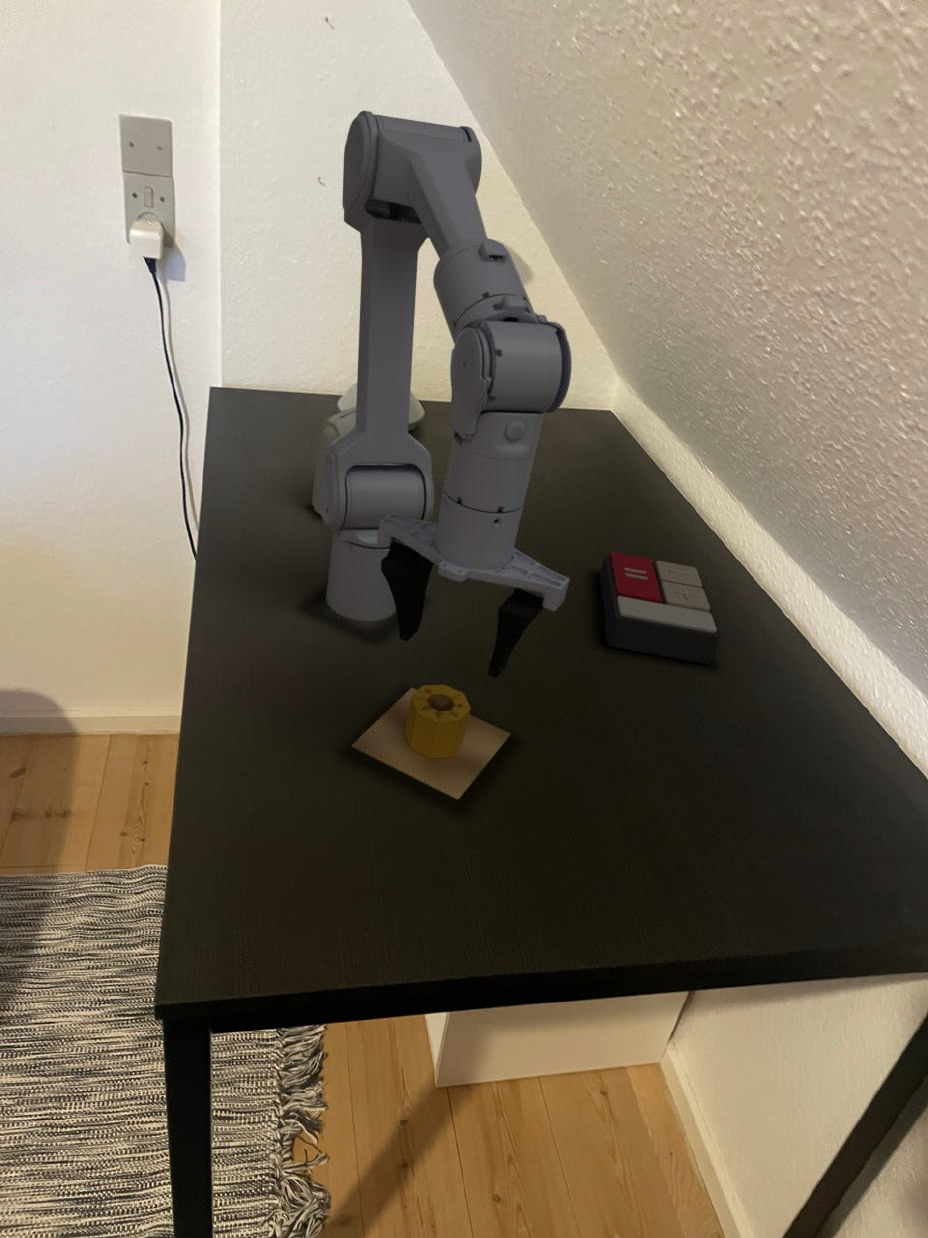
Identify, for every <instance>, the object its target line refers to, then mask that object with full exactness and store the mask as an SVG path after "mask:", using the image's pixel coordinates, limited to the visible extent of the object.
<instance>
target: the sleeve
mask: <svg viewBox="0 0 928 1238" xmlns="http://www.w3.org/2000/svg"><path fill="white" fill-rule="evenodd" d="M417 690H418V691H417V692H416V693H415V694H414V695H413V696H412V697H411V701H410V706H409V712H408V717H407V723H406V728H405V736H406V739H407V742H408V744H409V747H410V749H412V750H414V751H416V752H418V753H420V754H422V755H424V756H426V757H428V758H430V759H432V758H444V757H452V756H453V755H454V754H455V753H456V752H457V750H458V749H459V748H460V747H461V746H462V744H463V740H464V735H465V731H466V726H467V722H468V718H469V714H471V713H470V712H471V710H472V709H471V705H470V703H469V701H468V700H467V697H466V695H465V693H464V692H462V691H459V690H457V689H454V688H453V687H450V686H448V685H446V684H430V685H429V684H427V685H421V686H420V687H419V688H418V689H417ZM437 696H443V697H445V698H447V699H448V707H447V711H437V710H435V709H433V708H432V707H433V702H434V699H435V698H436V697H437Z"/></svg>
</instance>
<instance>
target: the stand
mask: <svg viewBox="0 0 928 1238" xmlns="http://www.w3.org/2000/svg"><path fill="white" fill-rule="evenodd" d="M418 690H419V689H416V688H414V687H410V688H409V690H407V692H405V693H404V694H403V695H402V696H401V697H400V698H399V699H398V700H397V701H396V702H394V704H393V705H391V707H390V708H389V709H387V710H386V711H385V713H383V714H382V716H380V717H379V718H378V719H377V720H376V721H375V722H374V723H373V724H372V725H371V726H370V727H369V728H368V729H367V730H366V731H365V732H363V733H362V734H361V736H360V737H358V738H357V739H356V740H355V741H354V742H353V743H351V745H350V747H351V748H353V749H356V750H358V751H359V752H361V753H364V755H365V754H366V755H368V756H369V757H372V758H373V759H375V760H377V761H379V762H381V763H384V764H386V765H388V766H389V767H392V768H394V769H396V770H398V771H400V772H401V773H403V774H406V775H407V776H409V777H412V778H414V779H415V780H417V781H419V782H421V783H424V784H425V785H427V786H429V787H431V788H433V789H436V790H437V791H439V792H441V793H444V794H446V795H448V796H449V797H452V798H454V799H455V800H460V798H461V797H462V796H463V795H464V794H465V792H466V791H467V790H468V788H469V787H470V786H471V785H472V783H473V782H474V781H475V780H476V779H477V777H478V776H479V774H480V773H481V772H482V771H483V770H484V769H485V768H486V766H487V765H488V763H489V762H490V761H491V760H492V758H493V757H494V756H495V755H496V753H497V752H498V751H499V749H501V747H502V746H503V744H504V743H505V742H506V741H507V740H508V738H509V737H510V736H511V732H508V731H506V730H504V729H502V728H499V727H498V726H496V725H493V724H491V723H489V722H487V721H485V720H483V719H480V718H478V717H476V716H474V715H472V714H471V713H469V718H468V722H467V726H466V731H465V735H464V740H463V744H462V746H461V747H460V748H459V749H458V750H457V752H456V753H455V754H454V755H453V756H452V757H444V758H432V759H430V758H428V757H426V756H424V755H422V754H420V753H418V752H416V751H414V750H412V749H410V747H409V744H408V742H407V739H406V736H405V728H406V723H407V717H408V712H409V706H410V701H411V697H412V696H413V695H414V694H415V693H416V692H417V691H418ZM447 707H448V699H447V698H445V697H443V696H437V697H436V698H435V699H434V702H433V707H432V708H433V709H435V710H437V711H447Z"/></svg>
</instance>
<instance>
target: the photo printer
mask: <svg viewBox="0 0 928 1238" xmlns="http://www.w3.org/2000/svg"><path fill="white" fill-rule="evenodd" d="M355 424H356V406H353V407H349V408H347V409H344V410H342V411H338V412H337V413H335V414H333V415H332V416H330V417H328V418H327V419H325V420H324V421H323V422H322V423H321V426H320V427H319V431H318V440H317V441H318V442H317V450H316V460H315V468H314V478H313V488H312V499H311V500H312V501H311V502H312V503H311V504H312V506H313V509H314V511H315V512H316V513H317V514H318V515H320V516H321V511H320V504H319V484H320V478H321V474H322V471H323V463H324V453H325V452H326V448H327V446H329V445H330V444H331V443H332V442H334V441H335V440H336V439H338V438H339V437H341V436H342V435H343V434H345V433H346V432H348V431H349V430H350V429H352V428H353V427H354V426H355ZM360 464H394V463H360Z"/></svg>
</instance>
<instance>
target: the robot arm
mask: <svg viewBox="0 0 928 1238" xmlns="http://www.w3.org/2000/svg"><path fill="white" fill-rule="evenodd" d="M482 157H483V155H482V147H481V144H480V141H479V139H478V137H477V135H476V132H475V130H474V129H473V128H471V127H470V126H464V125H459V126H453V125H445V124H442V123H441V124H439V123H434V122H427V121H422V120H421V121H420V120H415V119H407V118H400V117H394V116H388V115H383V114H375V113H373V112H372V111H369V110H361V111H359V113H358V114H357V115H356V117H355V118H354V119H353V120H352V121H351V123H350V126H349V129H348V132H347V135H346V140H345V145H344V149H343V173H342V174H343V175H342V200H341V201H342V202H341V204H342V210H343V222H344V223H345V224H346V225H348V226H350V227H351V228H352V229H353V230H355V231H357V233H359V236H360V237H359V238H360V249H361V250H360V251H361V269H360V270H361V273H360V295H359V297H360V299H359V322H358V323H359V324H358V326H359V327H358V349H357V350H358V353H357V355H358V356H357V376H356V377H357V379H356V402H355V403H356V405H355V407H356V424H355V426H354V427H353V428H352V429H350V430H349V431H348V432H346V433H345V434H343V435H342V436H341V437H339V438H338V439H336V440H335V441H334V442H332V443H331V444H330V445H329V446H327V448H326V452H325V453H324V463H323V471H322V474H321V478H320V484H319V504H320V511H321V515H320V516H321V520H322V521H323V523H324V524H325V526H326V527H327V528H328V529H329V531H331V532H332V542H331V550H330V558H329V559H330V560H329V568H328V577H327V587H326V594H325V600H326V604H327V606H328V607H329V608H330V609H331V610H332V611H333V612H335V613H336V614H338V615H340V616H342V617H343V618H345V619H346V618H347V619H350V620H353V621H358V622H359V621H360V622H377V621H381V620H385V619H387V618H390V617H391V616H393V615H394V614H395V613H396V617H397V623H398V631H399V632H398V633H399V639H400V640H401V641H405V642H409V640H410V639H411V638H412V637H414V635H415V634H417V632H419V630H420V627H421V623H422V619H423V614H424V607H425V601H426V600H425V599H426V593H427V588H428V584H429V581H430V577H431V575H432V574H431V573H432V570H433V567H434V565H437V571H436V572H437V574H438V575H439V576H441V577H443V578H446V579H448V580H451V581H454V582H457V583H462V582H464V581H467V579H469V580H474V581H479V582H485V583H490V584H494V585H497V586H499V587H501V588H505V589H507V590H509V591H512V593H511V595H510V596H508V597H507V598H506V599H505V601H503V603H502V604H501V605H500V606H499V607H498V611H497V616H498V617H497V629H496V639H495V644H494V648H493V652H492V655H491V658H490V662H489V665H488V671H487V674H488V676H489V677H492V678H495V679H497V678H499V676H500V675H501V673H502V672H503V671H504V670H505V668H506V667H507V665H508V662H509V660H510V657H511V655H512V653H513V651H514V649H515V648H516V645H517V643H518V642H519V640H520V639H521V637H522V636H523V634H524V633H525V631H526V630H527V628H528V627H529V626H530V624H532V622H533V621H534V620H536V618H537V617H538V615H539V614H540V613H541V612H542V610H543V609H546V610H549V611H551V612H556V611H557V610H558V609H559V608H560V607H561V605H562V604H563V602H564V601H565V599H566V594H567V590H568V587H569V583H570V578H569V577H567V576H565V575H562V574H560V573H558V572H556V571H554V570H552V569H550V568H549V567H546V566H545V565H543V564H542V563H540V562H539V561H537V560H535V559H534V558H532V557H530V556H528V555H526V554H525V553H523V552H522V551H520V550H518V549H517V548H515V544H516V539H517V535H518V531H519V528H520V522H521V518H522V514H523V511H524V505H525V500H526V496H527V493H528V487H529V483H530V478H531V475H532V474H531V473H532V470H533V465H534V461H535V456H536V452H537V448H538V443H539V439H540V435H541V430H542V426H543V422H544V415H543V414H545V413H546V414H551V413H554V412H556V411H558V409H559V408H560V407H561V406H562V405H563V403H564V402H565V399H566V397H567V394H568V391H569V388H570V384H571V377H572V368H573V367H572V365H573V363H572V362H573V361H572V351H571V347H570V343H569V339H568V338H567V337H568V336H567V332H566V329H565V328H564V327H563V325H562V324H560V323H558V322H556V321H549V320H548V318H547V316H546V315H545V314H538V313H537V312H535V310H534V308H533V305H532V302H531V300H530V298H529V296H528V293H527V291H526V288H525V286H524V284H523V281H522V279H521V277H520V274H519V272H518V270H517V267H516V265H515V262H514V259H513V258H512V256H511V253H510V252H509V250H508V249H507V248H506V246H505V245H504V243H503V242H499V241H497V240H495V239H492V238H488V235H487V231H486V228H485V224H484V220H483V217H482V213H481V210H480V207H479V202H478V199H477V196H476V195H477V193H478V189H479V186H480V181H481V177H482V166H483V158H482ZM427 239H429V241H430V243H431V244H432V246H433V249H434V251H435V252H436V254H437V257H438V258H439V260H437V261H438V262H437V263H436V266H435V268H434V271H433V277H432V283H433V288H434V291H435V294H436V296H437V299H438V302H439V305H440V309H441V311H442V313H443V317H444V319H445V322H446V324H447V328H448V331H449V333H450V334H449V335H450V337H451V340H452V341H453V345H454V346H453V348H452V349H451V353H450V365H449V368H450V369H449V374H450V375H449V376H450V377H449V378H450V388H451V395H450V396H451V399H450V404H449V411H448V414H449V424H450V425H451V427H452V428H453V435H452V440H451V445H450V451H449V457H448V463H447V469H446V475H445V480H444V484H443V491H442V496H441V502H440V507H439V514H438V519H437V522H433V521H430V520H431V519H432V516H433V513H434V507H435V486H434V485H435V484H434V481H433V461H432V456H431V454H430V452H429V451H428V450H427V448H426V447H425V446H424V445H423V444H421V442H419V441H418V440H417V439H416V438H415V437H414V436H412V435H411V434H410V433H409V423H410V422H409V421H410V405H411V404H410V403H411V385H412V369H413V352H414V351H413V350H414V330H415V314H416V297H417V296H416V295H417V279H418V276H417V275H418V260H419V252H420V249H421V248H422V246H423V245H424V244H425V242H426V240H427ZM360 463H393V464H360Z"/></svg>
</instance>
